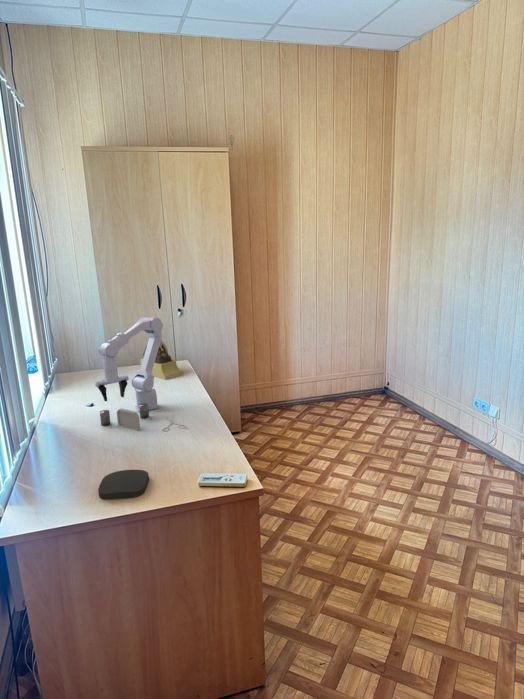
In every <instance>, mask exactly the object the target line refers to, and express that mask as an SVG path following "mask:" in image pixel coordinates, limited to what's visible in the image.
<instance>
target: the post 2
mask: <svg viewBox="0 0 524 699" xmlns="http://www.w3.org/2000/svg"><path fill="white" fill-rule="evenodd" d="M139 410H140V412H139V419H141V420H145V419H146V420H147V419H148V418H149V419H150V410H149V408H148V404H147V403H143V404H140V405H139Z"/></svg>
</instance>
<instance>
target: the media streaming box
mask: <svg viewBox="0 0 524 699" xmlns="http://www.w3.org/2000/svg"><path fill="white" fill-rule="evenodd" d="M149 478H150V477H149V472H148V471H146V470H144V469H125V470H124V469H122V470H117V471H113V472H110V473H108V474H107V475H104V477H103V478H102V479H101V481H100V483H99V486H98V489H97V491H98V497H99V499H101V500H107V501H109V500H121V499H130V498H131V499H134V498H138V497H140V496H143V495H144V494H145V492H146V490H147V487H148V486H149V485H148V484H149V480H150V479H149Z"/></svg>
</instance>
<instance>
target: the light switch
mask: <svg viewBox="0 0 524 699" xmlns="http://www.w3.org/2000/svg"><path fill="white" fill-rule="evenodd" d="M116 416H117V419H116V420H117V426H118V427H123V428H127V429H131V430H134V431H137V432H138V431H141V424H140V423H141V422H140V414H139V413H138V411H135V410H130V409H125V408H119V409H118V410H117V411H116Z"/></svg>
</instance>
